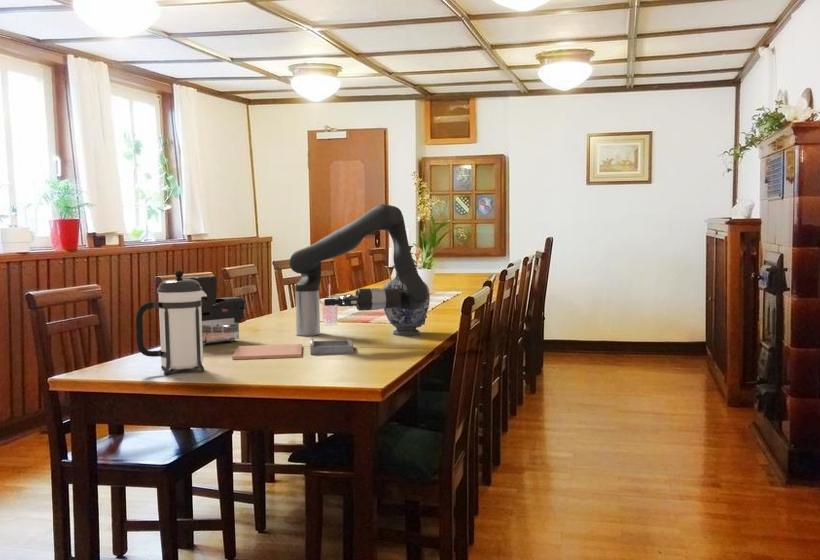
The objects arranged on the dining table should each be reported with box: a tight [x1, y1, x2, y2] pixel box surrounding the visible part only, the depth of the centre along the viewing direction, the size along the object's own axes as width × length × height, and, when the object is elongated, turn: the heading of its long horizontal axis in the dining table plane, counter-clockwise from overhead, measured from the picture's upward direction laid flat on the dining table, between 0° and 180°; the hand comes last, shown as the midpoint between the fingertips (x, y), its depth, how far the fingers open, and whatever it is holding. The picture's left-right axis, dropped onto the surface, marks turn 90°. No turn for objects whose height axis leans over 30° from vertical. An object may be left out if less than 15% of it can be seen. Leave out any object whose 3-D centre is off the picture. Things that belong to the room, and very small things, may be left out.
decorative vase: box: [382, 264, 431, 337], centre depth 302 cm, size 21×19×28 cm
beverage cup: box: [320, 283, 339, 327], centre depth 264 cm, size 6×6×14 cm
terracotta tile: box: [231, 343, 303, 360], centre depth 262 cm, size 22×22×1 cm
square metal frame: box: [309, 337, 354, 356], centre depth 265 cm, size 14×14×4 cm
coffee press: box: [135, 270, 207, 376], centre depth 231 cm, size 17×16×30 cm
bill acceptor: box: [181, 275, 246, 347], centre depth 286 cm, size 10×23×25 cm, turn 129°
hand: (322, 301), depth 263 cm, fingers closed on beverage cup, 6 cm apart
